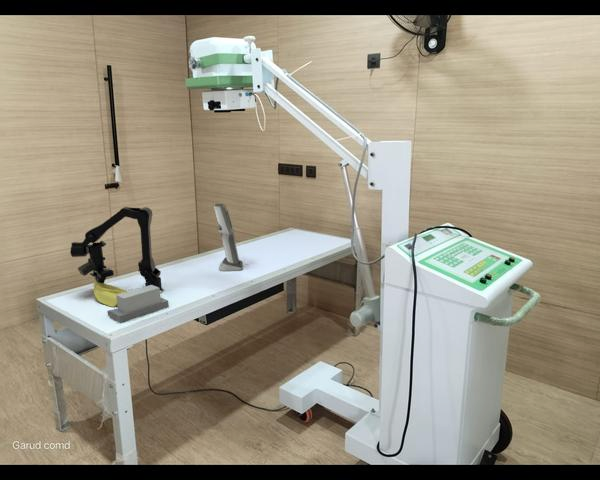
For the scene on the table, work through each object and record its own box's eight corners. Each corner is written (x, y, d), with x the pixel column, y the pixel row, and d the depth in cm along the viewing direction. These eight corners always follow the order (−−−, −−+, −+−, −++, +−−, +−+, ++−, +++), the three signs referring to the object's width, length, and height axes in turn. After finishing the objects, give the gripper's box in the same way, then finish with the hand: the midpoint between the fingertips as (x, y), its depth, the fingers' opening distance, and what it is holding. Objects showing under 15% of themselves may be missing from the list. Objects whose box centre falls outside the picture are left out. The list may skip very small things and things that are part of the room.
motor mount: (154, 300, 213) (151, 280, 211) (168, 307, 205) (166, 286, 203) (106, 315, 198) (103, 294, 196) (120, 323, 190) (117, 301, 188)
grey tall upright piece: (219, 265, 264) (215, 203, 256) (243, 264, 265) (239, 202, 257) (218, 271, 253) (213, 206, 245) (242, 270, 254) (238, 205, 246)
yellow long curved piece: (137, 294, 215) (120, 291, 207) (132, 310, 214) (114, 308, 206) (109, 284, 225) (92, 281, 217) (104, 299, 225) (86, 297, 216)
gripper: (70, 256, 220) (75, 288, 224) (87, 263, 208) (92, 297, 212) (94, 251, 228) (98, 282, 232) (112, 257, 216) (116, 290, 220)
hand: (100, 287), depth 224 cm, fingers closed
